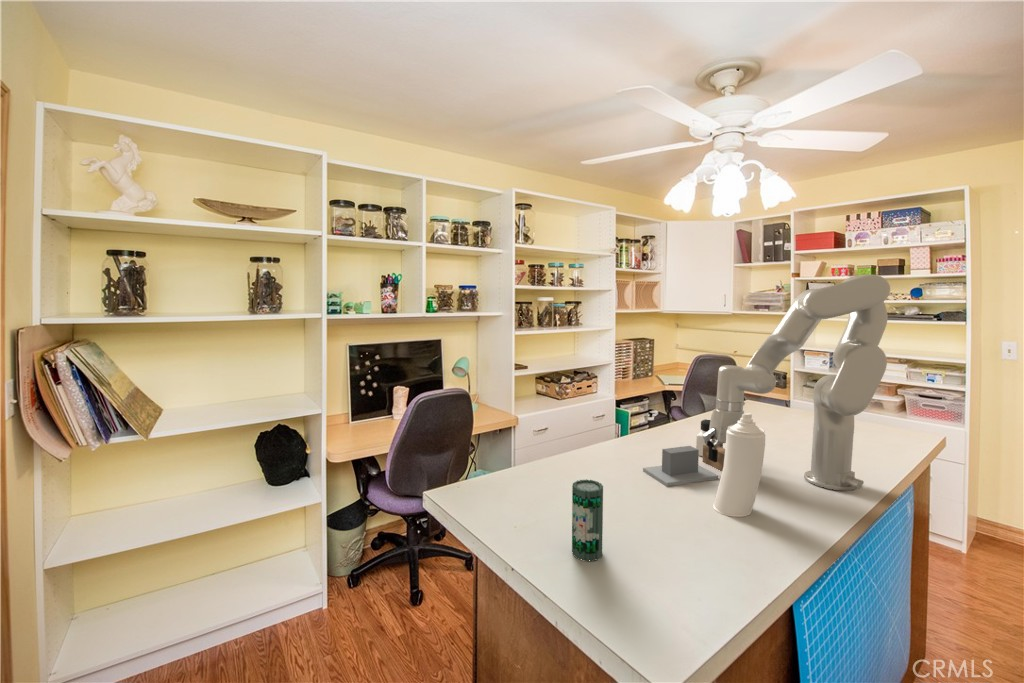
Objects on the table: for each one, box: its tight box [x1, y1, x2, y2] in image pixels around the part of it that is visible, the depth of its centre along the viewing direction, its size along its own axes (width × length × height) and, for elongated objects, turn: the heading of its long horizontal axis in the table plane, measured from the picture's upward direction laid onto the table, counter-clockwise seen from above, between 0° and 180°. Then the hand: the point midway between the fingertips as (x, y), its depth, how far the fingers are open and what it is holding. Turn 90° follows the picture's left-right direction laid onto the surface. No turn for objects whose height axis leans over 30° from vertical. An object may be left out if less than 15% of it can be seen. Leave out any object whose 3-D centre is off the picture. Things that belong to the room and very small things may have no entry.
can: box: [571, 479, 604, 562], centre depth 96 cm, size 6×6×15 cm
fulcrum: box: [642, 445, 719, 487], centre depth 138 cm, size 12×18×8 cm, turn 107°
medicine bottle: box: [695, 418, 724, 457], centre depth 155 cm, size 7×7×12 cm
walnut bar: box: [702, 445, 725, 472], centre depth 141 cm, size 18×4×6 cm, turn 16°
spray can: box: [712, 412, 766, 518], centre depth 115 cm, size 12×11×25 cm
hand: (725, 459), depth 141 cm, fingers open, 9 cm apart
